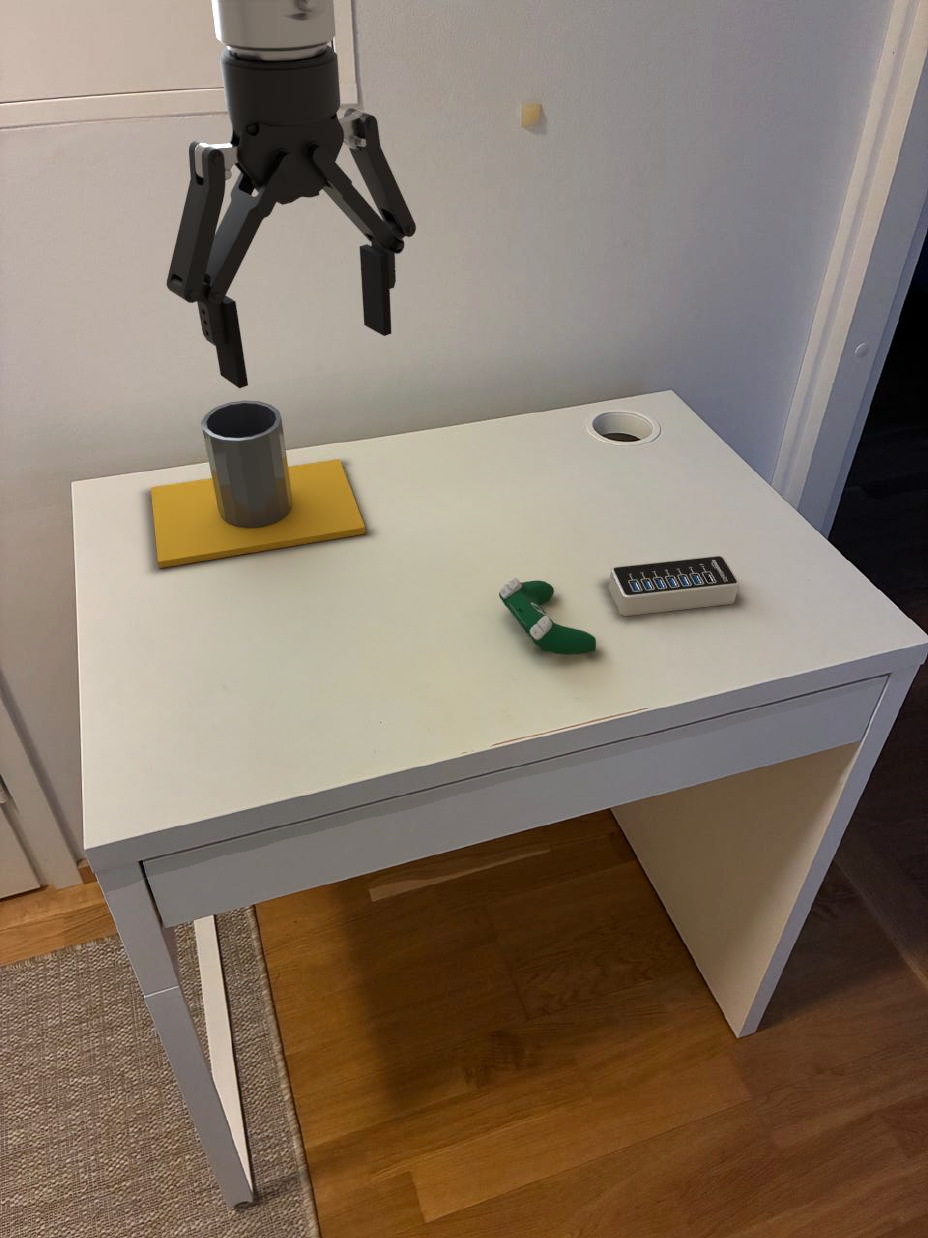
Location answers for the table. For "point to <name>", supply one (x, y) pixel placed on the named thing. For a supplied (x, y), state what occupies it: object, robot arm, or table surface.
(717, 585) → the multiport hub
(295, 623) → the table surface
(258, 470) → the steel tumbler
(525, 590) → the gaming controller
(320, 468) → the mat
